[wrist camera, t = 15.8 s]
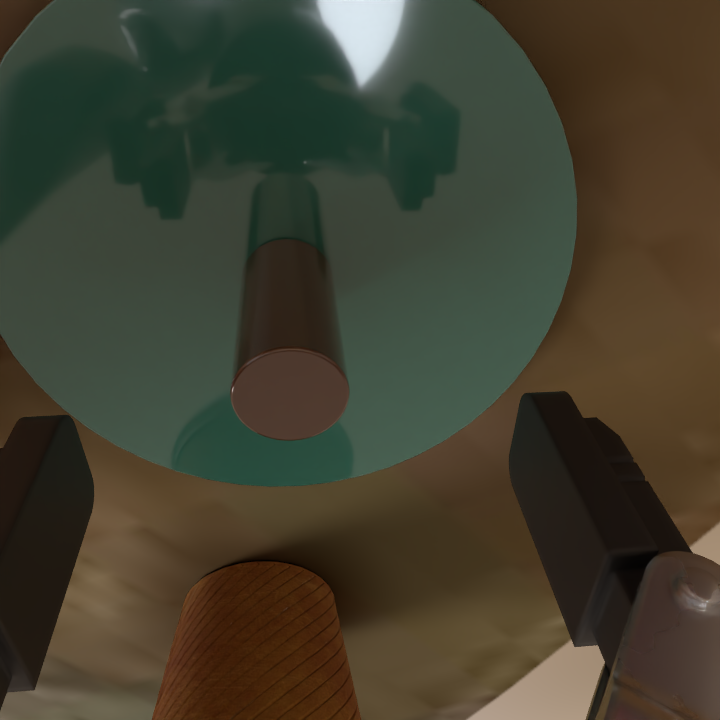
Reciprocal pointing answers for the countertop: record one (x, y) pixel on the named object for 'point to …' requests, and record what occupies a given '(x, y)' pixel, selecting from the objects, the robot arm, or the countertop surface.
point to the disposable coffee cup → (258, 649)
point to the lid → (278, 226)
